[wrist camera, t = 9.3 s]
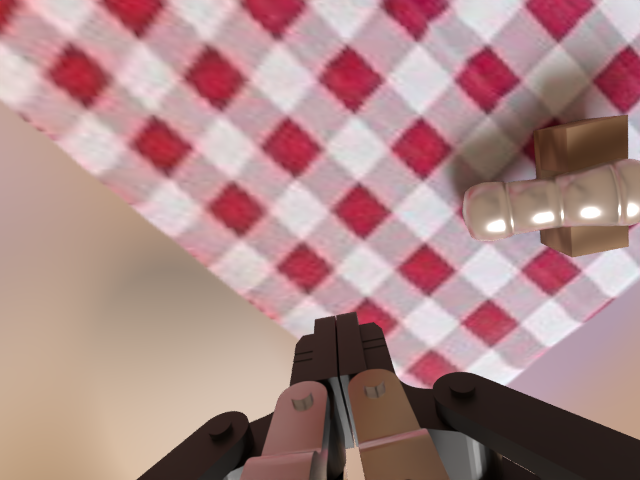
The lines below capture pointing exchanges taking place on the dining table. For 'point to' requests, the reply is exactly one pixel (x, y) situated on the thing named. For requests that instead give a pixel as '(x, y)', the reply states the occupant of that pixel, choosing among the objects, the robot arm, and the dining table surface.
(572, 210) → the silver metal bottle
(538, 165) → the u rest
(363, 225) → the dining table surface
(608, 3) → the dining table surface
